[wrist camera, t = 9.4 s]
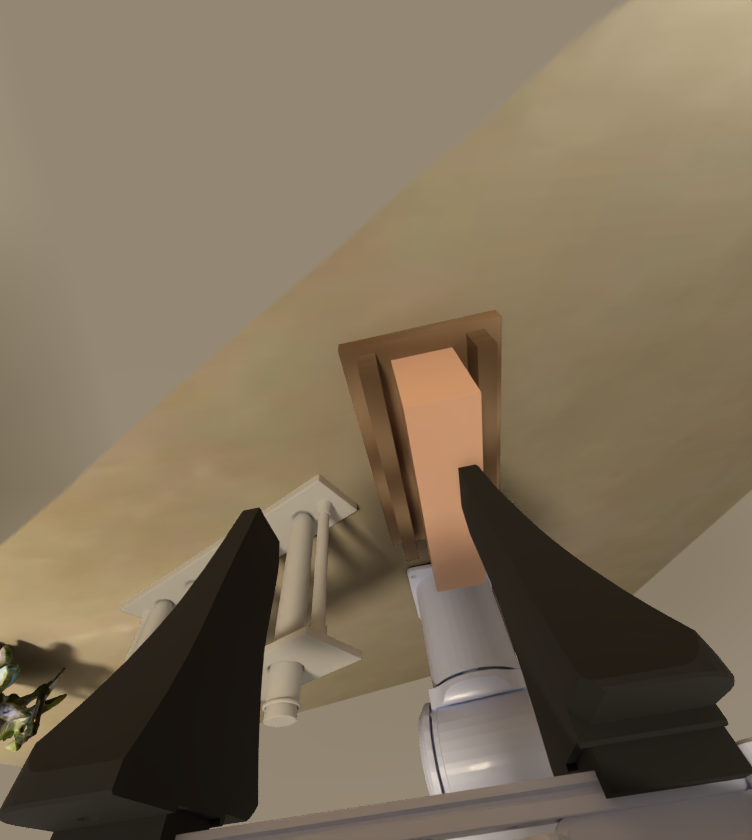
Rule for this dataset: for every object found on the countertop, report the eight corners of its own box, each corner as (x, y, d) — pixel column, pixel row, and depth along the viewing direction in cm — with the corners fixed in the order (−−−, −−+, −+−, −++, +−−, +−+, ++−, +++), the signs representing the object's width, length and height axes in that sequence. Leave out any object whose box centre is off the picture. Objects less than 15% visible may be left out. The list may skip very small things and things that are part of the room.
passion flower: (34, 591, 40) (-28, 665, 29) (113, 641, 44) (84, 723, 33) (-72, 678, 36) (-185, 797, 26) (24, 724, 40) (-40, 845, 30)
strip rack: (494, 515, 30) (508, 545, 27) (391, 535, 30) (396, 566, 28) (495, 310, 20) (516, 329, 17) (338, 344, 20) (337, 368, 17)
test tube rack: (166, 617, 35) (88, 812, 24) (124, 601, 33) (18, 808, 22) (357, 502, 28) (366, 710, 17) (319, 472, 26) (301, 687, 15)
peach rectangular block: (465, 525, 29) (486, 583, 25) (423, 533, 29) (437, 592, 25) (452, 347, 19) (481, 392, 15) (390, 360, 20) (403, 408, 16)
